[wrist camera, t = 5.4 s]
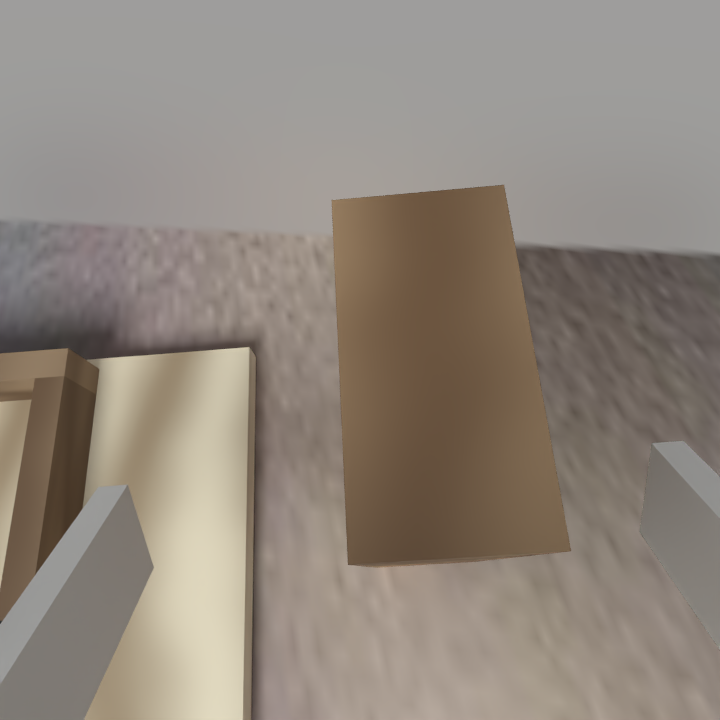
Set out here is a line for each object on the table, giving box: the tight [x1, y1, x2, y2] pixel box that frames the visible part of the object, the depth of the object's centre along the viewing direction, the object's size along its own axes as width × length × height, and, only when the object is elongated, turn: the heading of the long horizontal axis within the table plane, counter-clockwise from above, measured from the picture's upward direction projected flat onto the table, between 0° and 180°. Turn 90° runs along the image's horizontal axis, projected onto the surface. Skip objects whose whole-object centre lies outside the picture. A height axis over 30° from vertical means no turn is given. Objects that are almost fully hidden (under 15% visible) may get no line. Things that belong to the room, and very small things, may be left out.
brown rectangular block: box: [332, 185, 571, 567], centre depth 17 cm, size 4×8×13 cm, turn 3°
